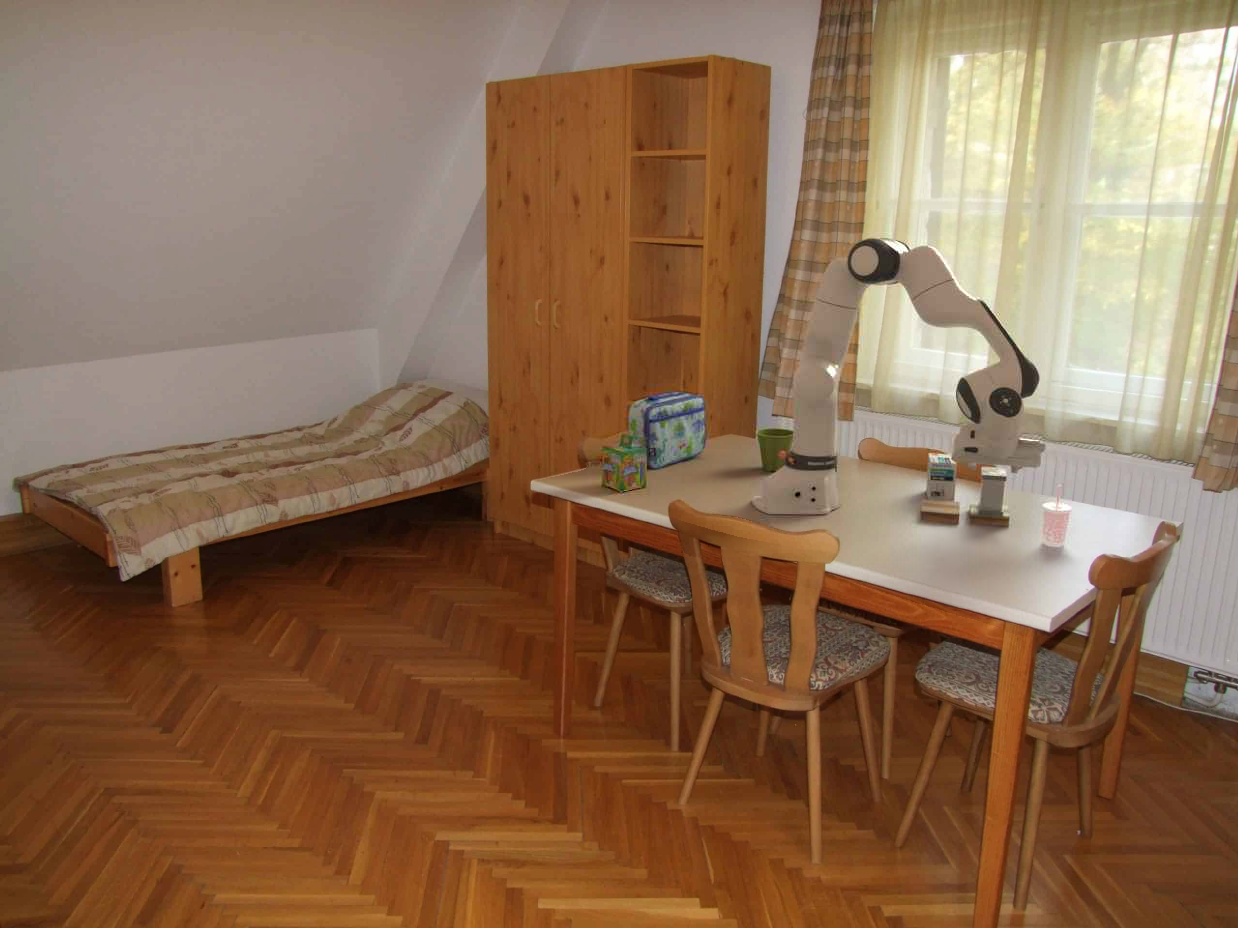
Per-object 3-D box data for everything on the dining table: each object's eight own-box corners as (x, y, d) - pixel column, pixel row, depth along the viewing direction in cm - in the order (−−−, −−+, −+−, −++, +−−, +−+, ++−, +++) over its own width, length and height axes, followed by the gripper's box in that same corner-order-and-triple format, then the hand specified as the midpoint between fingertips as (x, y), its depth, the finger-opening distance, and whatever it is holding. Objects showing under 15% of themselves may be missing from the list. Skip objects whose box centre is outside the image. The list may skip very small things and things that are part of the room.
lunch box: (649, 472, 303) (649, 402, 298) (624, 466, 311) (623, 397, 306) (709, 457, 320) (710, 390, 315) (684, 451, 328) (685, 386, 323)
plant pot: (801, 467, 308) (802, 430, 305) (785, 476, 298) (786, 438, 296) (764, 462, 314) (765, 426, 311) (747, 471, 305) (748, 433, 302)
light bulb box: (954, 503, 272) (957, 463, 270) (928, 501, 274) (931, 462, 271) (950, 492, 282) (953, 453, 280) (924, 490, 284) (927, 452, 281)
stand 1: (958, 524, 255) (959, 514, 254) (920, 520, 258) (921, 511, 257) (958, 511, 265) (959, 501, 264) (922, 508, 268) (922, 499, 267)
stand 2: (1008, 526, 253) (1009, 516, 252) (969, 523, 256) (970, 513, 255) (1006, 513, 263) (1007, 503, 263) (969, 510, 266) (970, 501, 265)
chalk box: (601, 486, 290) (600, 434, 286) (627, 480, 295) (626, 430, 291) (621, 493, 283) (621, 440, 279) (647, 487, 288) (648, 435, 284)
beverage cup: (1053, 549, 237) (1059, 490, 233) (1033, 541, 242) (1039, 483, 239) (1073, 545, 239) (1080, 487, 236) (1053, 537, 245) (1059, 480, 241)
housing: (1002, 516, 252) (1006, 476, 250) (978, 514, 254) (982, 474, 251) (1001, 507, 260) (1005, 468, 257) (978, 505, 261) (981, 466, 259)
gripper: (1047, 430, 239) (1039, 461, 251) (954, 424, 245) (950, 454, 257) (1046, 453, 237) (1038, 483, 248) (952, 447, 242) (949, 476, 254)
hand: (993, 469), depth 253 cm, fingers open, 8 cm apart
